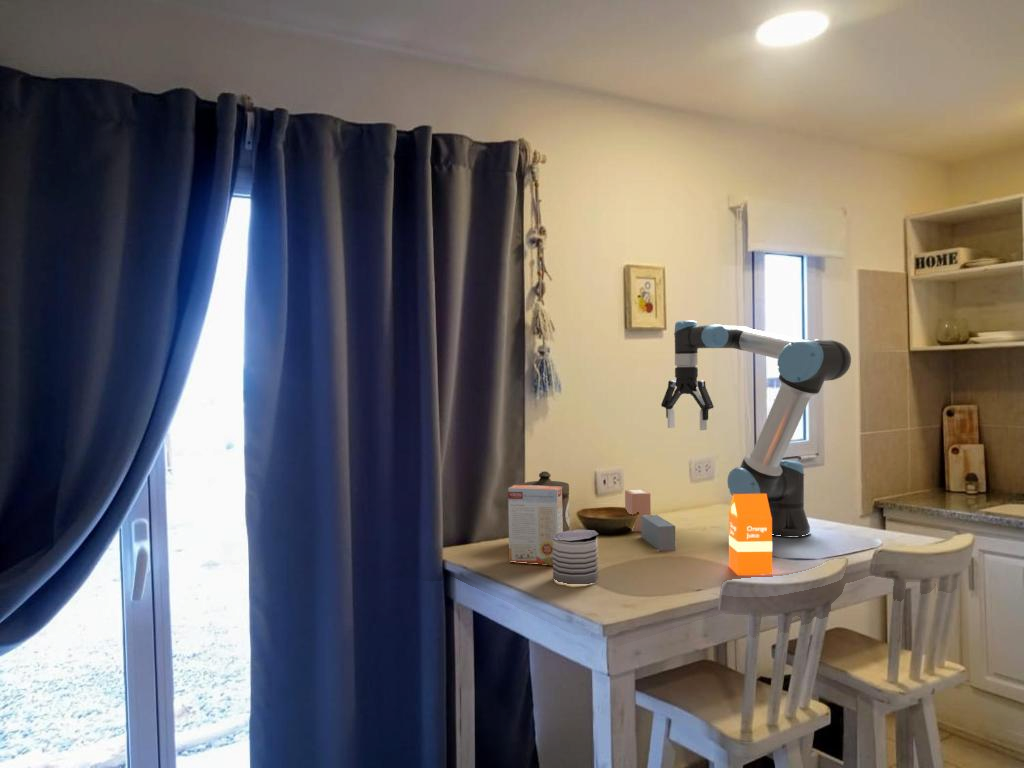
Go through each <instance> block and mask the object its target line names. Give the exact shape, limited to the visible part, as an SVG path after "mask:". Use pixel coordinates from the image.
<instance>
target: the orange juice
mask: <svg viewBox="0 0 1024 768" xmlns="http://www.w3.org/2000/svg"><path fill="white" fill-rule="evenodd" d="M731 498H732V499H731V503H730V506H729V511H728V561H729V562H728V563H729V565H728V567H729V568H730V569H731V570H732V571H733V573H735V574H736V575H737V576H762V575H761V574H770V573H771V574H772V575H773V536H772V517H771V513H770V508H769V503H768V499H767V494H733V497H732V496H731Z"/></svg>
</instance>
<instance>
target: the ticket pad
mask: <svg viewBox="0 0 1024 768" xmlns="http://www.w3.org/2000/svg"><path fill="white" fill-rule="evenodd" d="M640 532H641V534H640V535H641V539H643V540H645V541H646V542H647V543H649V544H650V545H651V546H653V547H654V548H655V549H656V550H657V551H658V552H662V551H667V552H668V551H676V525H674V524H673V523H671V522H669V521H668V520H666V519H664V518H663V517H661V516H659V515H658V514H651V515H641V531H640Z"/></svg>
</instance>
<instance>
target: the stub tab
mask: <svg viewBox="0 0 1024 768" xmlns="http://www.w3.org/2000/svg"><path fill="white" fill-rule="evenodd" d="M624 504H625V507H624V509H626V510H627V512H628V513H629V514H632V515H633V514H636V513H637V512H639V513H640V515H639V517H638V518H637V521H636V522H635V525H634V528H633V531H632V532H641V515H652V514H651V513H652V512H651V511H652V510H651V493H650V492H648V491H647V490H644V489H625V490H624Z"/></svg>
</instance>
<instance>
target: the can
mask: <svg viewBox="0 0 1024 768" xmlns="http://www.w3.org/2000/svg"><path fill="white" fill-rule="evenodd" d="M597 535H599V533H598V532H597V531H596V530H591V529H574V530H570V531H564V532H560V533H558V534H555V535H553V536H552V537H553V566H552V579H553V578H554V579H555V580H557V581H558V582H563V583H567V584H590V583H596V581H597V579H598V580H599V573H598V572H599V571H598V570H599V569H598V568H599V567H598V566H599V565H598V564H599V562H598V561H599V560H598V558H599V557H598V555H599V554H598V553H599V552H598V551H599V550H598V536H597ZM597 582H598V581H597ZM596 584H597V583H596Z"/></svg>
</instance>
